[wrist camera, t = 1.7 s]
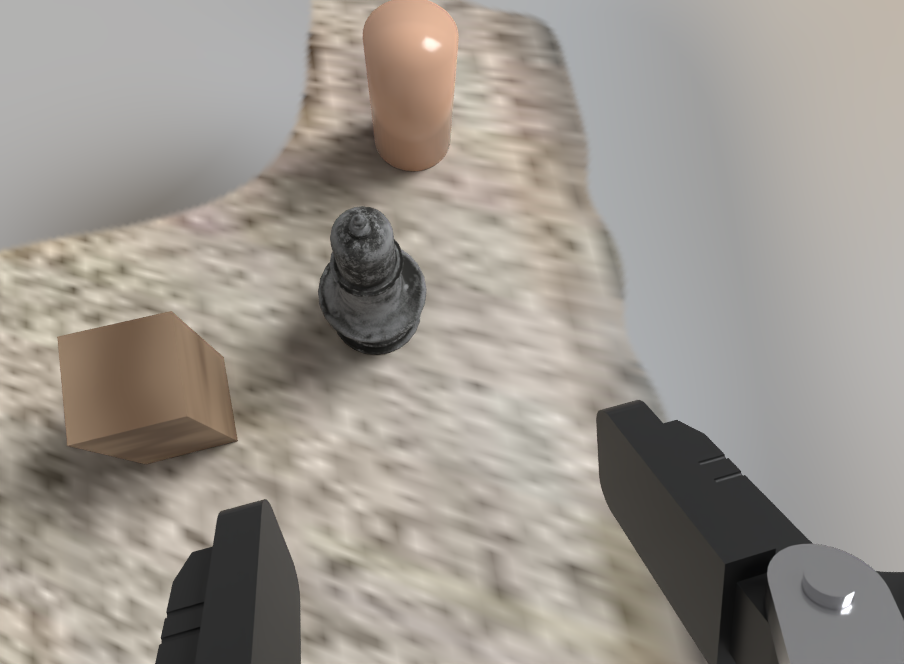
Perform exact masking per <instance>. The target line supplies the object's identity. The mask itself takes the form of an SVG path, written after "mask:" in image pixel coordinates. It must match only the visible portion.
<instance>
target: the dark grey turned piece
mask: <svg viewBox="0 0 904 664" xmlns="http://www.w3.org/2000/svg"><path fill="white" fill-rule="evenodd" d="M330 241H331V247H332V250H333V252H332V254H331V259H330V263H329V264H328V265H327V266H326V268H325V270H324V272H323V274H322V276H321V278H320V283H319V289H318V295H319V304H320V307H321V309H322V312H323V314H324V316H325V318H326V320H327V321H328V322H329V323H330V324H331V326H332V327H333V328H334V329H335V330H336V331H337V333H338V335H339V336H340V337H341V339H342V340H343V341H344V342H345V343H346V344H347V345H349V346H350V347H352V348H353V349H354V350H357V351H360V352H363V353H365V354H375V355H378V354H385V353H390V352H392V351H394V350H397V349H399V348H400V347H402V346H403V345H404V344H406V343H407V342H408V341H409V340H410V339H411V337H412V336H413V335H414V334H415V332H416V330H417V327H418V325H419V322H420V314H421V312H422V309H423V307H424V304H425V298H426V284H425V279H424V275H423V273H422V271H421V269H420V267H419V265H418V264H417V263H416V262H415V260H414V259H413V258H412V257H411V256H410V255H409V254H407V253H406V252H404V251H403V250H401V248H400V246H399V244H398V243H397V242H396V241H395V239H394V235H393V229H392V226H391V224H390V222H389V220H388V219H387V218H386V217H385V216H384V214H382V213H381V212H380V211H378V210H376V209H373V208H371V207H363V206H362V207H354V208H352V209H349V210H347V211H345V212H344V213H342V214H341V215H340V216H339V217H338V218H337V219H336V220H335V222H334V224H333V226H332V230H331V236H330Z"/></svg>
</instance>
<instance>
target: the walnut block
mask: <svg viewBox="0 0 904 664" xmlns="http://www.w3.org/2000/svg"><path fill="white" fill-rule="evenodd" d="M57 338H58V349H59V360H60V371H61V382H62V393H63V404H64V415H65V426H66V437H67V446H71V447H75V448H79V449H83V450H88V451H92V452H96V453H100V454H104V455H109V456H113V457H117V458H121V459H125V460H130V461H134V462H138V463H142V464H149V463H153V462H157V461H161V460H165V459H169V458H173V457H177V456H180V455H184V454H188V453H192V452H196V451H200V450H204V449H208V448H212V447H216V446H220V445H224V444H228V443H232V442H236V441H238V440H237V434H236V428H235V422H234V416H233V410H232V405H231V399H230V393H229V387H228V381H227V375H226V369H225V363H224V357H223V356H222V355H221V354H219V353H218V352H217V351H216V350H215V349H214V348H213V347H211V346H210V345H209V344H208V343H207V342H206V341H205V340H204V339H202V338H201V337H200V336H199V335H198V334H197V333H196V332H194V331H193V330H192V329H191V328H190V327H189V326H188V325H187V324H185V323H184V322H183V321H182V320H181V319H180V318H179V317H177V316H176V315H175V314H174V313H173V312H172V311H170V312H165V313H161V314H157V315H152V316H148V317H143V318H139V319H134V320H130V321H125V322H121V323H117V324H112V325H108V326H103V327H99V328H94V329H90V330H85V331H81V332H76V333H72V334H68V335H63V336H59V337H57Z"/></svg>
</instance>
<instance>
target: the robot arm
mask: <svg viewBox="0 0 904 664" xmlns="http://www.w3.org/2000/svg"><path fill="white" fill-rule="evenodd" d="M596 423H597V443H598V462H599V478H600V484H601V488H602V491H603V494H604V497H605V500H606V502H607V504H608V507H609V508H610V510H611V512H612V514H613V515H614V517H615V518H616V520H617V521H618V523H619V525H620V526H621V528H622V529H623V531H624V532H625V534H626V535H627V537H628V539H629V540H630V542H631V543H632V545H633V546H634V548H635V550H636V551H637V553H638V554H639V556H640V557H641V559H642V561H643V562H644V564H645V565H646V567H647V568H648V570H649V571H650V573H651V575H652V576H653V578H654V579H655V581H656V582H657V584H658V586H659V587H660V589H661V590H662V592H663V593H664V595H665V597H666V598H667V600H668V601H669V603H670V604H671V606H672V607H673V609H674V611H675V612H676V614H677V615H678V617H679V618H680V620H681V622H682V623H683V625H684V626H685V628H686V629H687V631H688V633H689V634H690V636H691V637H692V639H693V640H694V642H695V643H696V645H697V647H698V648H699V650H700V651H701V653H702V654H703V656H704V658H705V659H706V661H707V662H708V664H904V572H879V571H875V570H874V569H873V568H872V567H870V566H869V565H867V564H866V563H865V562H864V561H862V560H861V559H859V558H857V557H855V556H854V555H852V554H849V553H847V552H845V551H843V550H840V549H836V548H834V547H829V546H825V545H819V544H813V543H812V542H811V541H809V540H808V539H807V538H806V537H805V536H804V535H803V534H802V533H801V532H800V531H799V530H798V529H797V528H796V527H795V526H794V525H793V524H792V523H791V522H790V520H788V519H787V517H786V516H785V515H784V514H783V513H782V512H781V511H780V510H779V509H778V508H777V507H776V506H775V505H774V504H773V503H772V502H771V501H770V500H769V499H768V498H767V497H766V496H765V495H764V494H763V493H762V492H761V491H760V490H759V489H758V488H757V487H756V486H755V485H754V484H753V483H752V482H751V481H750V480H749V479H748V478H747V477H746V476H745V475H744V476H743V475H742V474H741V471H740V470H739V469H738V468H737V466H736V465H734V463H732V461H731V460H730V459H729V458H727V459H726V458H725V455H724V454H723V452H722V451H721V450H720V449H719V448H718V447H717V446H716V445H715V444H714V443H713V442H712V441H711V440H710V439H709V438H708V437H707V436H706V435H705V434H704V433H702V432H700V431H698V430H696V429H694V428H692V427H690V426H688V425H686V424H684V423H682V422H680V421H678V420H674V421H671V422H667V423H664V424H663V423H662V422H661V420H660V419H659V418H658V417H657V416H656V415H655V414H654V413H653V412H652V410H651V409H650V408H649V407H648V406H647V405H646V404H645V403H644V402H643V401H641V400H636V401H632V402H628V403H625V404H621V405H617V406H614V407H610V408H606V409H602V410H599V411H598V413H597V418H596ZM166 613H167V618H165V621H164V626H163V630H162V635H161V640H162V644H160V645H159V649H158V653H157V658H156V663H155V664H301V635H300V591H299V584H298V579H297V574H296V570H295V566H294V563H293V560H292V558H291V555H290V553H289V550H288V548H287V545H286V543H285V540H284V537H283V535H282V532H281V530H280V527H279V525H278V522H277V520H276V517H275V515H274V512H273V510H272V507H271V505H270V503H269V502H268V501H267V500H266V499H264V500H261V501H257V502H253V503H249V504H246V505H242V506H238V507H234V508H231V509H227V510H223V511H221V512H220V513H219V515H218V518H217V524H216V530H215V536H214V543H213V547H210V548H206V549H202V550H199V551H195V552H192V553H191V555H190V556H189V558H188V559H187V561H186V562H185V564H184V566H183V567H182V569H181V570H180V572H179V573H178V575H177V577H176V578H175V580H174V581H173V584H172V589H171V594H170V598H169V603H168V607H167V612H166Z"/></svg>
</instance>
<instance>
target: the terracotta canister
mask: <svg viewBox="0 0 904 664" xmlns="http://www.w3.org/2000/svg"><path fill="white" fill-rule="evenodd" d="M363 44H364V52H365V61H366V70H367V78H368V87H369V96H370V105H371V113H372V122H373V131H374V139H375V145H376V149H377V151H378V153H379V154H380V156H381V157H382V158H383V159H384V160H385V161H386V162H387V163H388V164H390V165H391V166H393V167H395V168H398V169H401V170H405V171H421V170H425V169H428V168H431V167H433V166H434V165H436V164H437V163H439V162H440V161H441V160H442V159H443V158H444V156H445V155H446V153H447V151H448V149H449V146H450V138H451V126H452V113H453V101H454V88H455V76H456V63H457V51H458V30H457V27H456V24H455V22H454V20H453V19H452V17H451V16H450V15H449V14H448V13H447V11H445V10H444V9H443V8H442V7H440V6H439V5H437V4H435V3H433V2H430V1H428V0H391V1H388V2H386V3H384V4H382V5H381V6H379V7H378V8H376V9H375V10H374V11H373V12H372V13H371V14H370V16H369V17H368V19H367V20H366V22H365V25H364V29H363Z"/></svg>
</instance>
